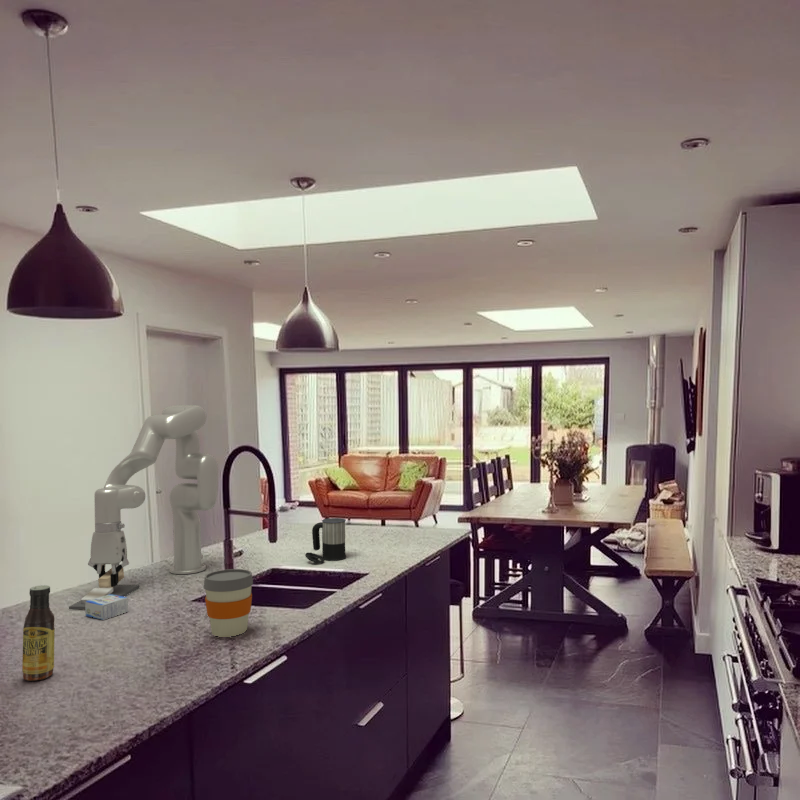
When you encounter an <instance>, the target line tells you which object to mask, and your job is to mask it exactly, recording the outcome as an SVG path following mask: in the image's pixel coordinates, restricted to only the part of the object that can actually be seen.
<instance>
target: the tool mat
mask: <svg viewBox="0 0 800 800" xmlns="http://www.w3.org/2000/svg"><path fill="white" fill-rule="evenodd" d="M140 585H141V584H117V585H116V586H114V587H113V592H112V593H111V594H113V595H118V596H123V597H124V596H125V597H127V596H128V595H129V593H130V594H131V592H132V591H133V592H135V591H136V589H137V590H138V589H140V588H141V587H140ZM139 587H140V588H139ZM134 590H135V591H134ZM133 592H132V593H133ZM127 594H128V595H127ZM69 609H85V603H81V600H78V601H77V602H75V603H74V604H71V605H69V606H68V610H69Z"/></svg>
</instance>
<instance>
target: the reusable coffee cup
mask: <svg viewBox="0 0 800 800" xmlns="http://www.w3.org/2000/svg"><path fill="white" fill-rule="evenodd" d="M203 579H204V582H203V589H204V590H205V597H204V602H205V608H206V616H207V617H208V618H209V623H210V629H211V635H212V634H213V635H215V636H219V637H230V636H236V635H239V634H242V633H244V632H245V631H246V630H247V631H248V623H249V614H250V613H251V610H252V602H253V601H252V600H253V593H252V588H253V587H252V585H254V581H253V574H252V571H251V570H249V569H244V568H243V569H242V568H231V569H230V568H229V569H228V568H227V569H221V570H216V571H215V570H214V571H211V572H209V573H206V575H204V578H203ZM244 634H245V633H244ZM213 635H212V636H213ZM242 635H243V634H242ZM215 636H214V637H215ZM219 637H218V638H219ZM236 637H237V636H236ZM230 638H231V637H230Z"/></svg>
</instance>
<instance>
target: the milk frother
mask: <svg viewBox="0 0 800 800" xmlns="http://www.w3.org/2000/svg"><path fill="white" fill-rule="evenodd" d="M320 529H321V531H322V532H321V533H322V535H321V536H322V537H320ZM311 535H312V536H311V537H312V547H313V551H320V549H321V548H322V555H319V554H317V553H314V552H313V553H312V552H306V553H305V558H306V559H307V560H308V561H310V562H312V563H316V564H323V563H324V562H325V561H331V560H334V561H342V560H345V559H346V558H347V556H346V518H339V517H330V518H324V519H322V520H321V522H318V523H315V524H314V525H313V527H312V529H311ZM320 538H321V540H322V545H321V542H320V541H321V540H320ZM321 546H322V547H321ZM324 559H325V560H324Z"/></svg>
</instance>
